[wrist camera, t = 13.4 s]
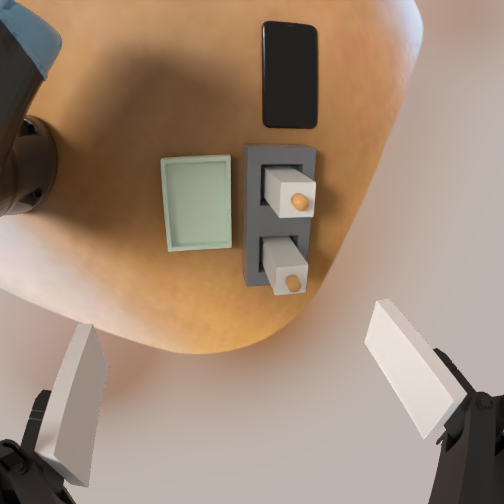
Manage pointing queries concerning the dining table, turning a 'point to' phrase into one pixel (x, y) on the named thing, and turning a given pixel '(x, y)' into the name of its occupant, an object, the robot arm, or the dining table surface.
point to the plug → (283, 265)
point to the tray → (197, 201)
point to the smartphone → (289, 75)
